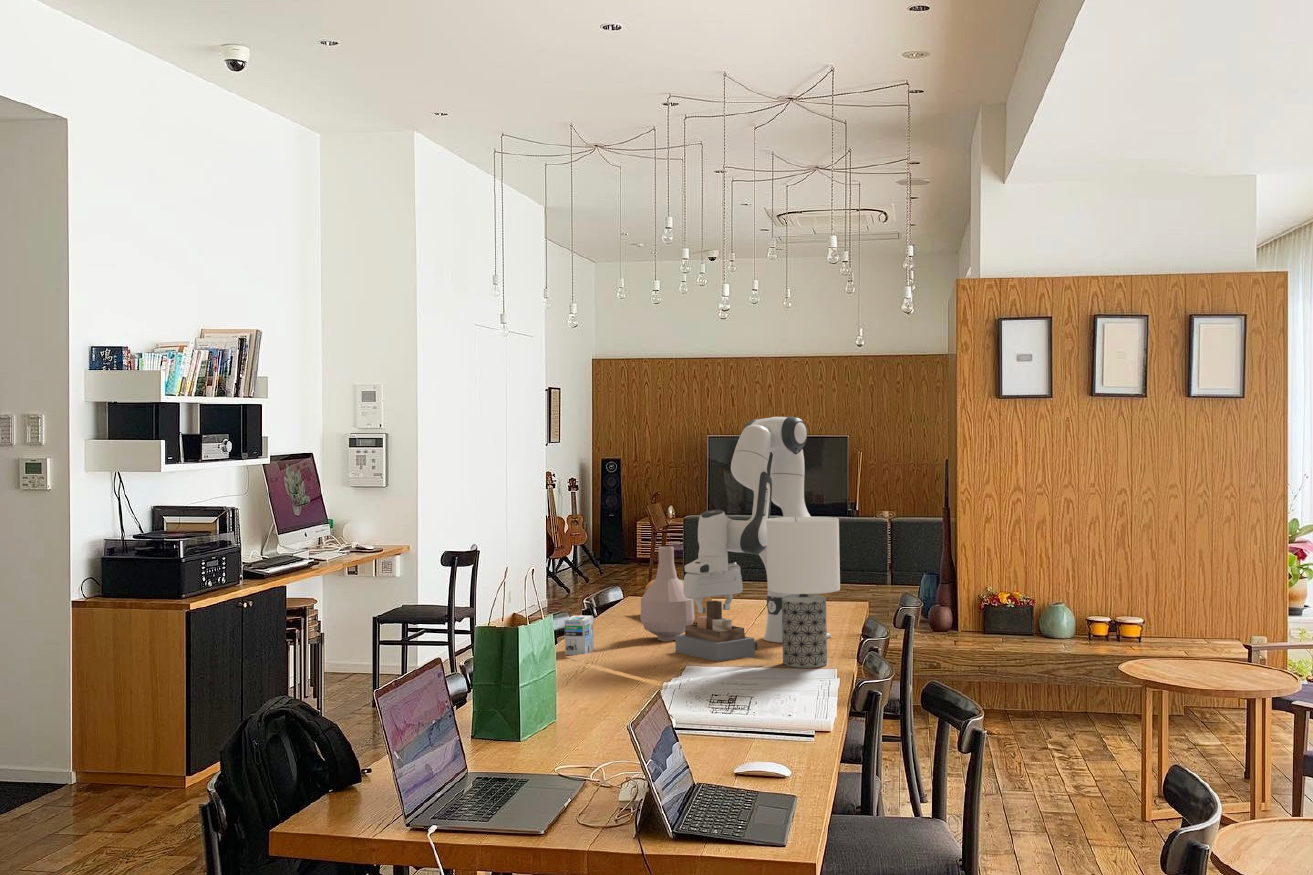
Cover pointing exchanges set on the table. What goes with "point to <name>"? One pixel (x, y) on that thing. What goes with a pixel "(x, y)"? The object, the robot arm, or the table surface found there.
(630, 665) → the table surface
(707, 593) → the robot arm
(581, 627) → the light bulb box
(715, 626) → the cream block
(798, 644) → the lamp
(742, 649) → the loading dock
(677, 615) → the vase
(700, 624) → the terracotta block
